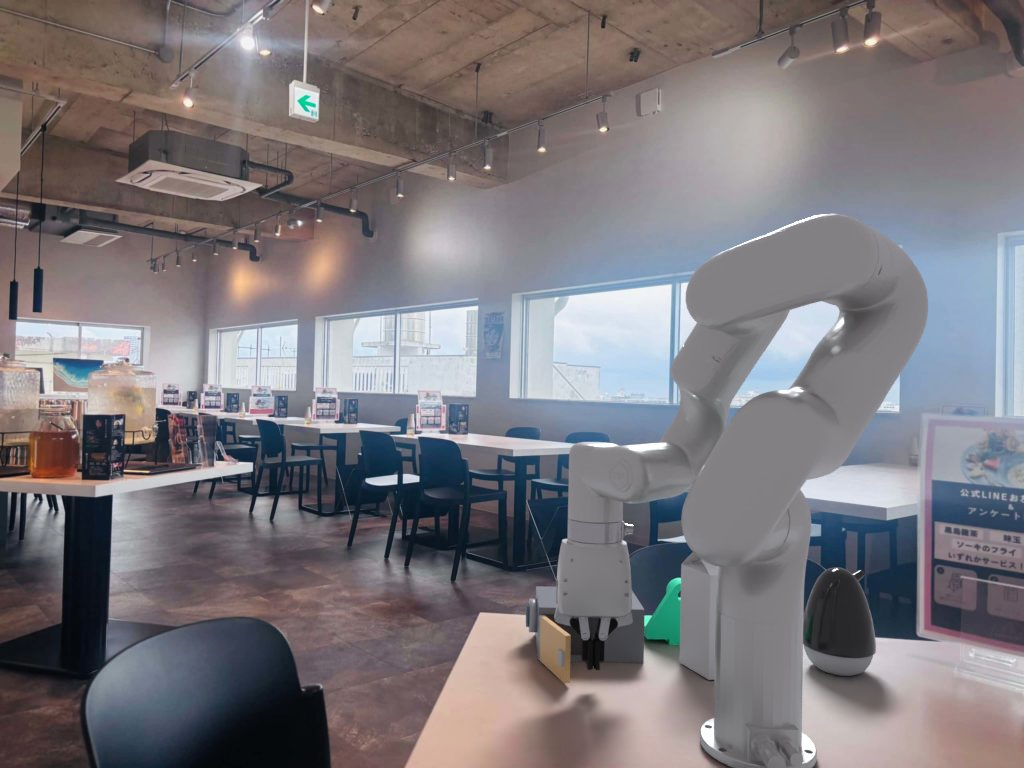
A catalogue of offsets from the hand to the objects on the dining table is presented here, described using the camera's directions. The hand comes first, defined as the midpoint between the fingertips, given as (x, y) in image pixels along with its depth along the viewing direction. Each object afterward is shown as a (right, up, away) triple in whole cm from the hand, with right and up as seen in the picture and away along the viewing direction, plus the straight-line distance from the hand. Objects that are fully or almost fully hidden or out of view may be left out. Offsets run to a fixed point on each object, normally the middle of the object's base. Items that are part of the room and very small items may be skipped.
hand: (592, 666), depth 96 cm
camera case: (+1, -3, +16) cm, 16 cm away
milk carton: (+19, -4, +8) cm, 21 cm away
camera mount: (+17, -4, +22) cm, 28 cm away
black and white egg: (+38, -4, +9) cm, 39 cm away
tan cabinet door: (-5, -3, +5) cm, 8 cm away
